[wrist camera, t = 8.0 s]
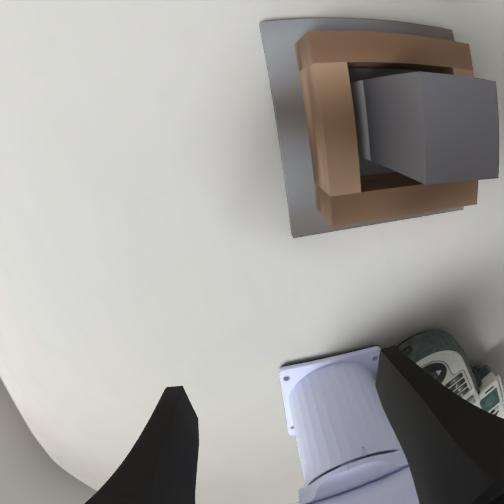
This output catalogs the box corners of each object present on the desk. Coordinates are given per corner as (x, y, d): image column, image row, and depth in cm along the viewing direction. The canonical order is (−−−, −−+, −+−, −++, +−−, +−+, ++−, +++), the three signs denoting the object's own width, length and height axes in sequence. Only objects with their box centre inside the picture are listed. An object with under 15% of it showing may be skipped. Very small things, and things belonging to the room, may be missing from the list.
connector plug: (416, 150, 16) (498, 178, 10) (355, 154, 16) (425, 184, 10) (411, 83, 15) (495, 81, 8) (347, 82, 15) (418, 71, 8)
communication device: (459, 285, 22) (524, 349, 14) (494, 393, 30) (524, 438, 22) (344, 374, 25) (377, 460, 16) (422, 446, 33) (445, 495, 25)
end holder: (459, 207, 18) (490, 225, 15) (291, 234, 19) (304, 261, 15) (447, 31, 13) (481, 24, 10) (259, 24, 14) (266, 3, 10)
